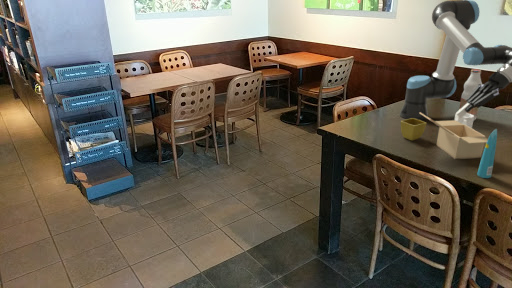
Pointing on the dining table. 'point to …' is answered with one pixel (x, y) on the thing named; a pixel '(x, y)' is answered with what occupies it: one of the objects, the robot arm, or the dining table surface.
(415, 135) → the flower pot
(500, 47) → the robot arm
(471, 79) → the fruit juice
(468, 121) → the mug
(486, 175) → the tube
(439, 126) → the flap
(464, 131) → the carton
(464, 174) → the dining table surface
